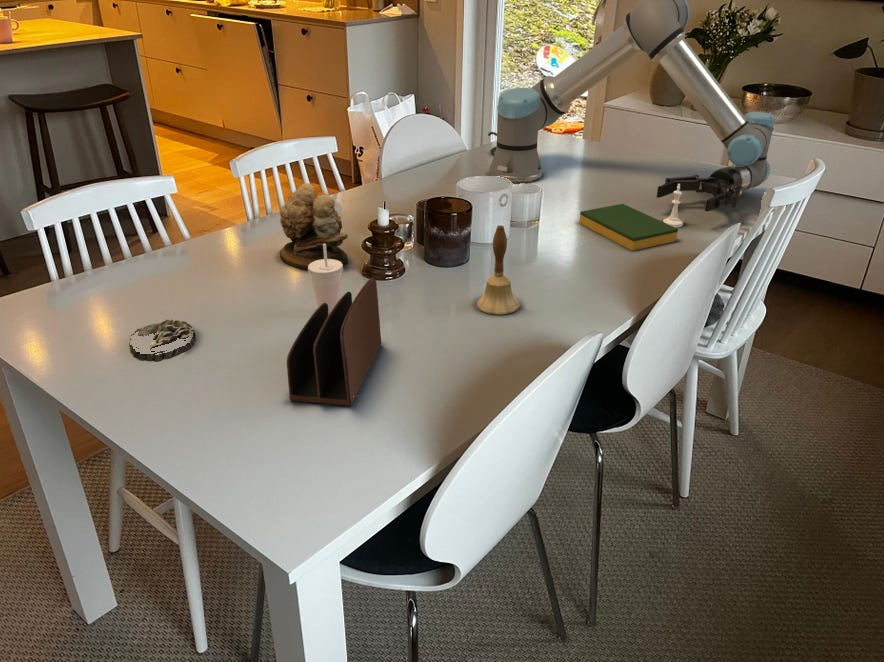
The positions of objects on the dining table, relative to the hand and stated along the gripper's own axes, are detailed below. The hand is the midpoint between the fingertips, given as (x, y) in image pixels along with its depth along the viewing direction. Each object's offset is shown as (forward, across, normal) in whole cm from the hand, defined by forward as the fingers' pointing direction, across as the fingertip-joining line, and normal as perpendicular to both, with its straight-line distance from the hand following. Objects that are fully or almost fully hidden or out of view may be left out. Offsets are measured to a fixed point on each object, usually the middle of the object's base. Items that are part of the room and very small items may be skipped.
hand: (682, 198), depth 181 cm
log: (+121, -25, +6) cm, 124 cm away
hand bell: (+66, +3, +6) cm, 66 cm away
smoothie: (+92, -16, +6) cm, 94 cm away
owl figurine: (+80, -40, +6) cm, 89 cm away
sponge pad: (+15, -4, +6) cm, 17 cm away
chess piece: (+2, 0, +6) cm, 7 cm away
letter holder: (+103, +3, +6) cm, 103 cm away
